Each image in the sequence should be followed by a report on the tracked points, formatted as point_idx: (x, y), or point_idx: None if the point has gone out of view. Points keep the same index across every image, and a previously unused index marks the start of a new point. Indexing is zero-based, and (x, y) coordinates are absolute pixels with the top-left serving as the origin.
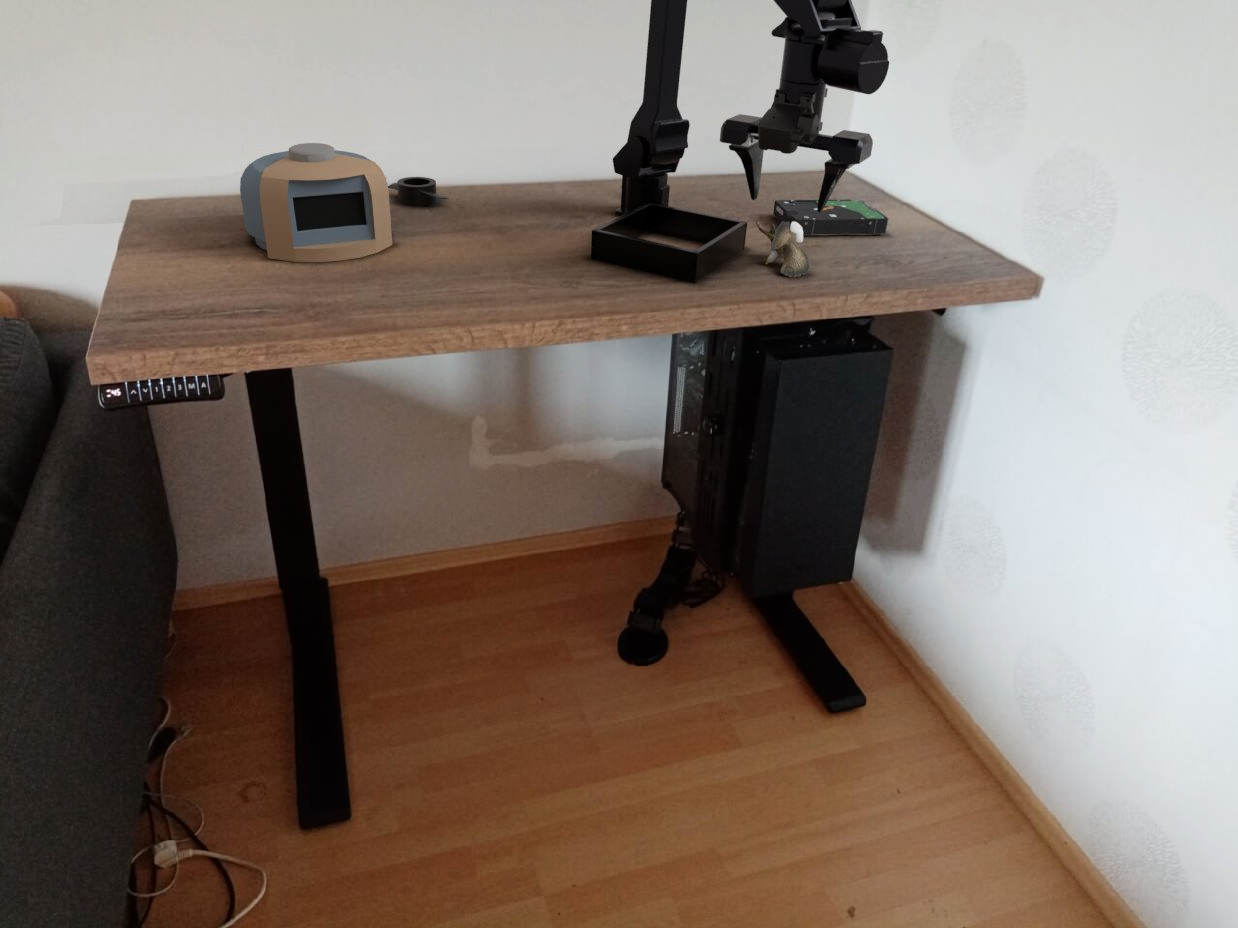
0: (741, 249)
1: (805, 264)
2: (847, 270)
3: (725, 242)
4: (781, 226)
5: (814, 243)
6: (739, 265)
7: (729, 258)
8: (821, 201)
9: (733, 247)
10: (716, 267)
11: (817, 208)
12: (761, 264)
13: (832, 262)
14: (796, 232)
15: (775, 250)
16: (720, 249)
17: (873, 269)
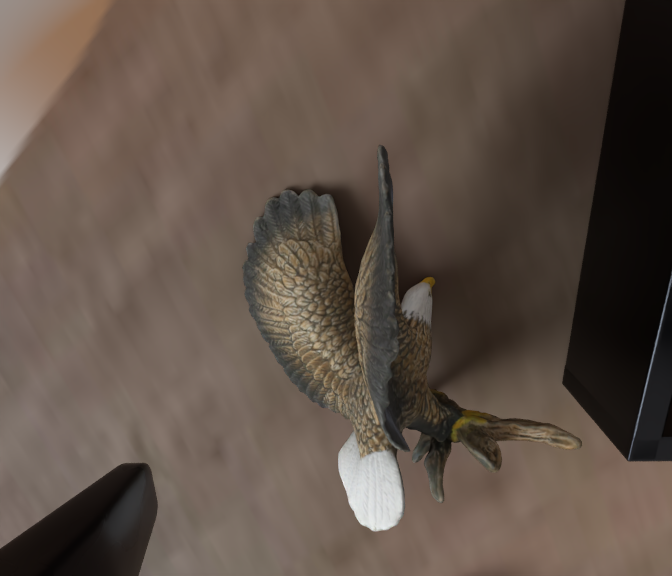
0: (571, 359)
1: (258, 298)
2: (150, 404)
3: (665, 176)
4: (381, 294)
5: (359, 572)
6: (526, 201)
7: (589, 235)
8: (61, 526)
9: (606, 282)
10: (615, 82)
11: (132, 476)
12: (446, 271)
13: (230, 447)
14: (363, 465)
15: (410, 320)
16: (663, 107)
17: (88, 462)
